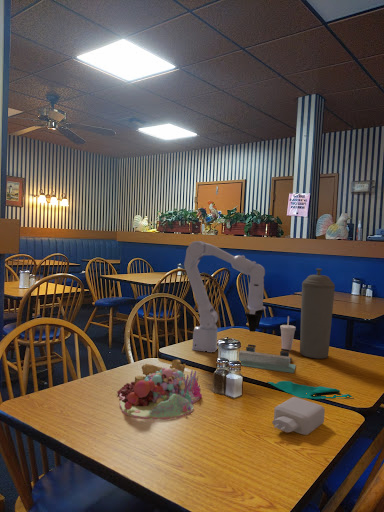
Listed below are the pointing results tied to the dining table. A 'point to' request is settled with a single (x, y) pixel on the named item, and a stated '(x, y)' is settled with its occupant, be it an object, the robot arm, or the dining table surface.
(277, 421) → the charger
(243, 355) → the rail
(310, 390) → the cloth
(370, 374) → the dining table surface
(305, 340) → the canister
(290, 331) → the smoothie
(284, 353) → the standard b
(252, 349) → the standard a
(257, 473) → the dining table surface
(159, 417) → the coral reef model
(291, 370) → the mat
